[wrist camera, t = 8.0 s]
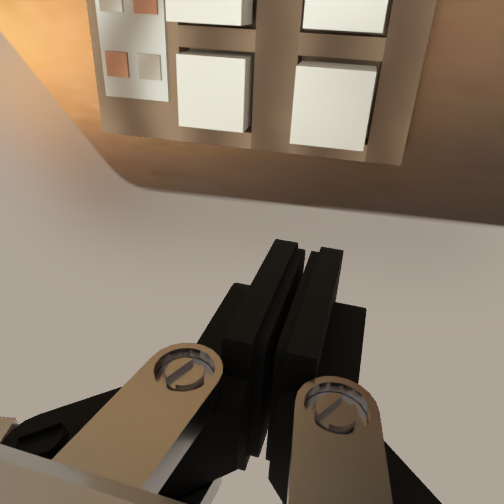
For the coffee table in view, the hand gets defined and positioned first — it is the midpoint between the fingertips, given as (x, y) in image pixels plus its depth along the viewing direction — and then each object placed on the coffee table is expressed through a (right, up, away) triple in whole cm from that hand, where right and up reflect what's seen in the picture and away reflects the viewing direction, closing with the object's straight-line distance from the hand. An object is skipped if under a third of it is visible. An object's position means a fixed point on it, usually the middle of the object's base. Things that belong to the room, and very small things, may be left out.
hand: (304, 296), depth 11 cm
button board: (-1, +16, +20) cm, 25 cm away
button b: (+4, +11, +18) cm, 21 cm away
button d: (-3, +13, +20) cm, 24 cm away
